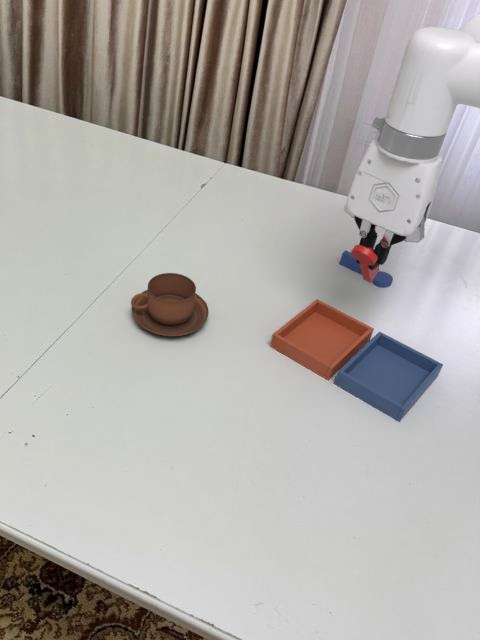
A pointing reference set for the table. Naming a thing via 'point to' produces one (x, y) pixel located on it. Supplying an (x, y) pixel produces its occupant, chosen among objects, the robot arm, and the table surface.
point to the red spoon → (366, 261)
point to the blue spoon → (350, 262)
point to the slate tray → (388, 375)
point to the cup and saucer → (170, 306)
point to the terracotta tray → (321, 338)
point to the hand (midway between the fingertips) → (369, 262)
